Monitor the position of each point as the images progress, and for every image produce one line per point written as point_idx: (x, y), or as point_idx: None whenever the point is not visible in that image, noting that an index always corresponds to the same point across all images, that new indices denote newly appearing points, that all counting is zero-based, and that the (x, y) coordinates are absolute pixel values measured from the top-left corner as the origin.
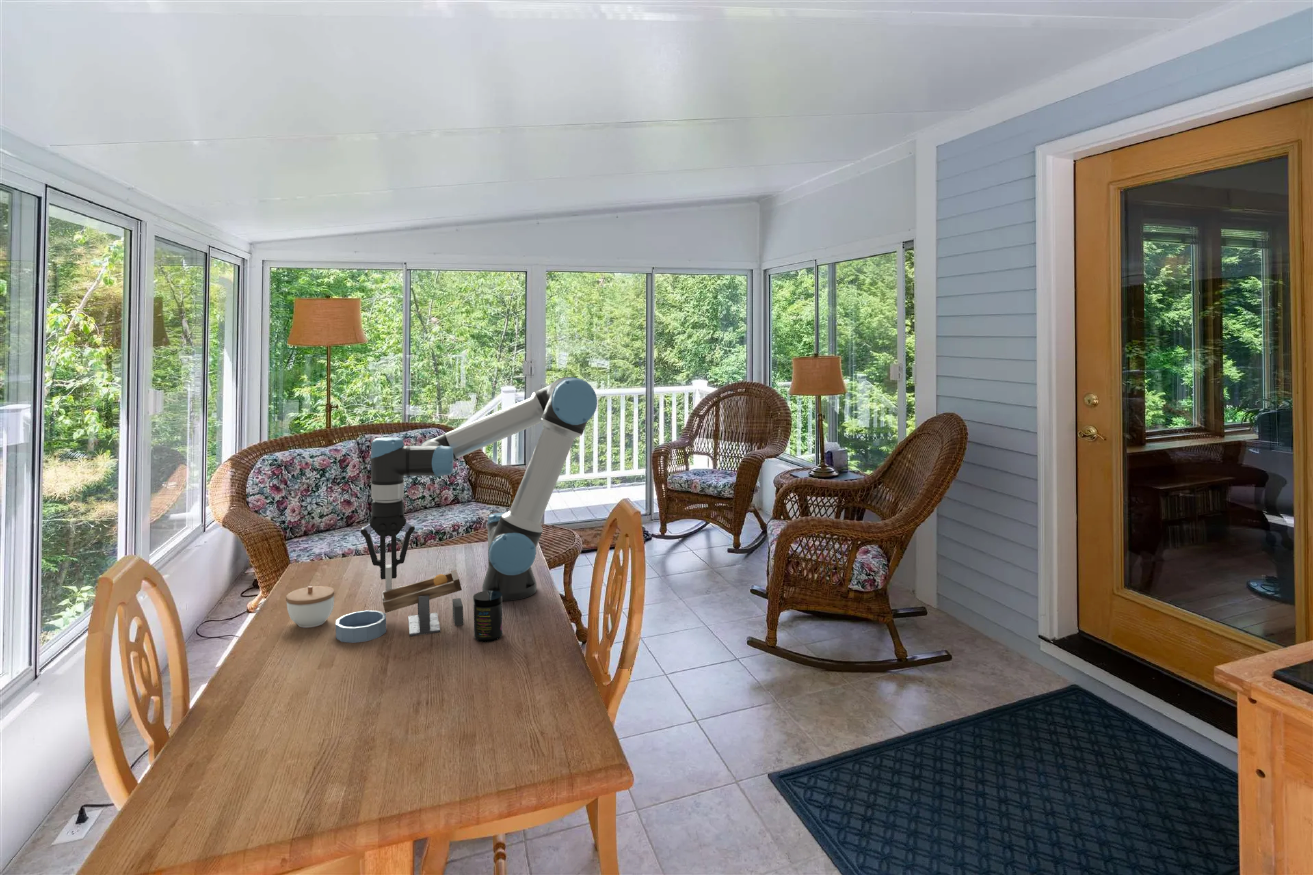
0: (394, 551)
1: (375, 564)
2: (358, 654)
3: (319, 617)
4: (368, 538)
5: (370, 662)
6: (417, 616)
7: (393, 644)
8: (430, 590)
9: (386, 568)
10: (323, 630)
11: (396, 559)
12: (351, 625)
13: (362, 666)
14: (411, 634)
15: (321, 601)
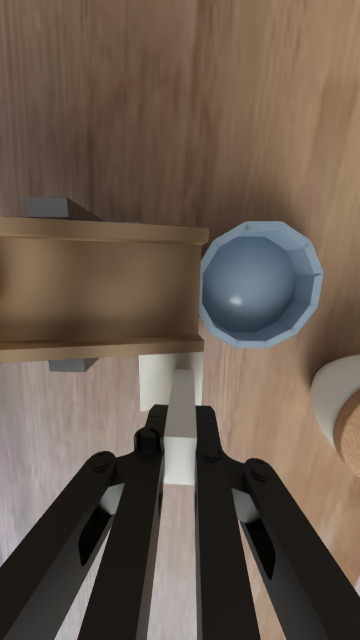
0: (118, 563)
1: (255, 463)
2: (260, 146)
3: (344, 359)
4: None
5: (236, 74)
6: None
7: (179, 183)
8: (7, 217)
9: (190, 434)
10: (320, 332)
11: (126, 480)
12: (266, 326)
13: (256, 52)
14: (137, 223)
15: None
